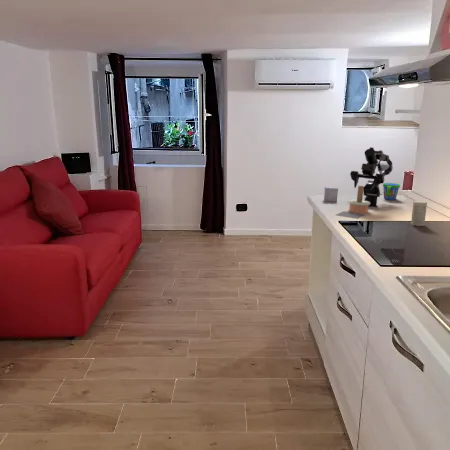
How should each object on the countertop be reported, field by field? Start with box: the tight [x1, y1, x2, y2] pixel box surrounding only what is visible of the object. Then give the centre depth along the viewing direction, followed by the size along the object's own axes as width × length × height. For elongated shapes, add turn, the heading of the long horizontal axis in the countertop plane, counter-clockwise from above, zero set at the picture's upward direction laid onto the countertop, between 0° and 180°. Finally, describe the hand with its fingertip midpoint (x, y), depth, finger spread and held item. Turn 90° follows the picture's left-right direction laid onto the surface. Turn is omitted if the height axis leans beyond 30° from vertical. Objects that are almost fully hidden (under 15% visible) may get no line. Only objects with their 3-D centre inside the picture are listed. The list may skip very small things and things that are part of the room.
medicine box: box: [323, 186, 339, 202], centre depth 279 cm, size 8×4×9 cm, turn 84°
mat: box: [335, 210, 366, 220], centre depth 241 cm, size 13×13×1 cm
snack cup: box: [382, 182, 401, 201], centre depth 290 cm, size 16×10×10 cm
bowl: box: [348, 204, 369, 214], centre depth 251 cm, size 10×10×5 cm
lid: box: [348, 185, 370, 206], centre depth 249 cm, size 12×12×10 cm
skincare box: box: [410, 200, 428, 227], centre depth 224 cm, size 6×4×12 cm
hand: (362, 188), depth 250 cm, fingers open, 9 cm apart
